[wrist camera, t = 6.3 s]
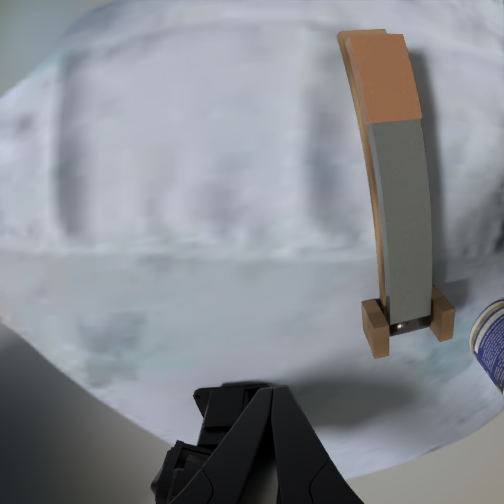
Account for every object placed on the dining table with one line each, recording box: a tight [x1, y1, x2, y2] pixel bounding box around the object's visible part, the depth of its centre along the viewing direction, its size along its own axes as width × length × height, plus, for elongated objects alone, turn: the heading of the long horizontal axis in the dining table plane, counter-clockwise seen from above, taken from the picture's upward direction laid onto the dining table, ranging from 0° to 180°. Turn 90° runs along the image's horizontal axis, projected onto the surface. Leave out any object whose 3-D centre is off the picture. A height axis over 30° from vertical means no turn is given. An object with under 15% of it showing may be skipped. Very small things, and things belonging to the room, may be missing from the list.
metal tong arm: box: [345, 34, 432, 337], centre depth 17 cm, size 19×3×1 cm, turn 13°
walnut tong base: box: [337, 29, 455, 359], centre depth 17 cm, size 20×6×4 cm, turn 12°
